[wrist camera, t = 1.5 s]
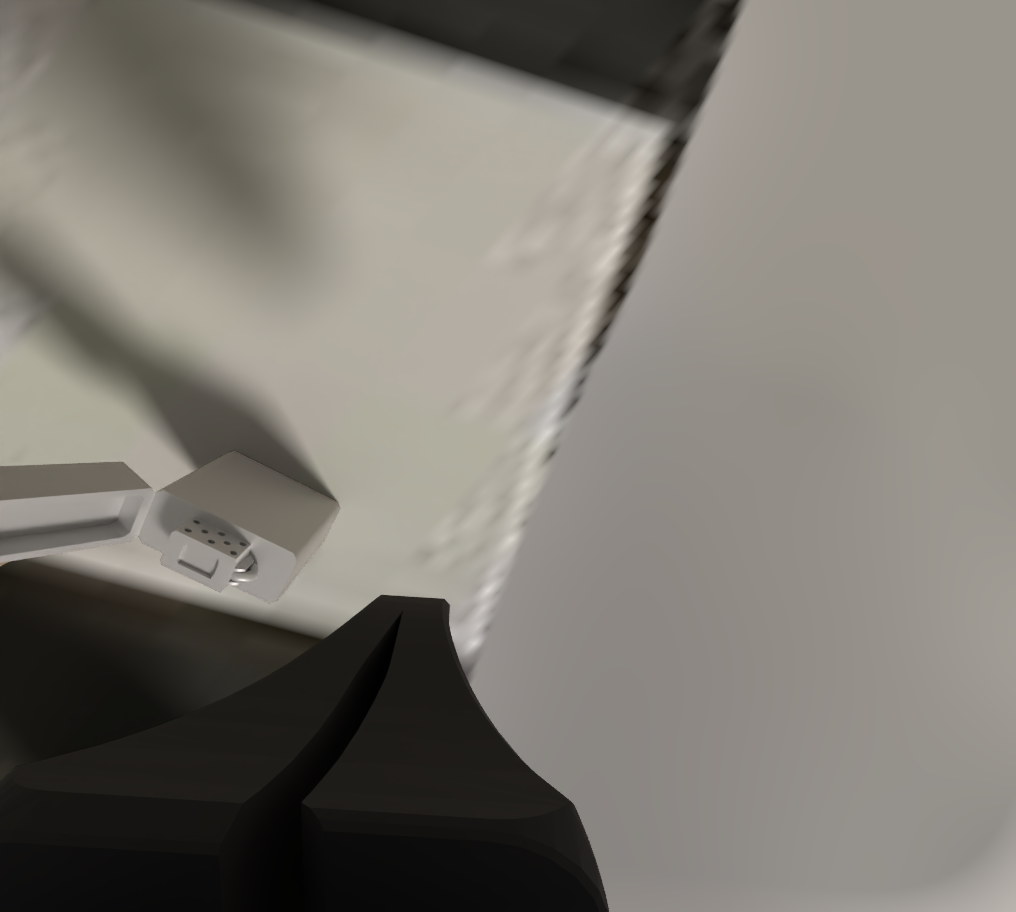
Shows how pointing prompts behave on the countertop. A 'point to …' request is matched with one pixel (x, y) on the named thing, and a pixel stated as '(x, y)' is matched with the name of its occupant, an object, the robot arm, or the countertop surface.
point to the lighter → (171, 519)
